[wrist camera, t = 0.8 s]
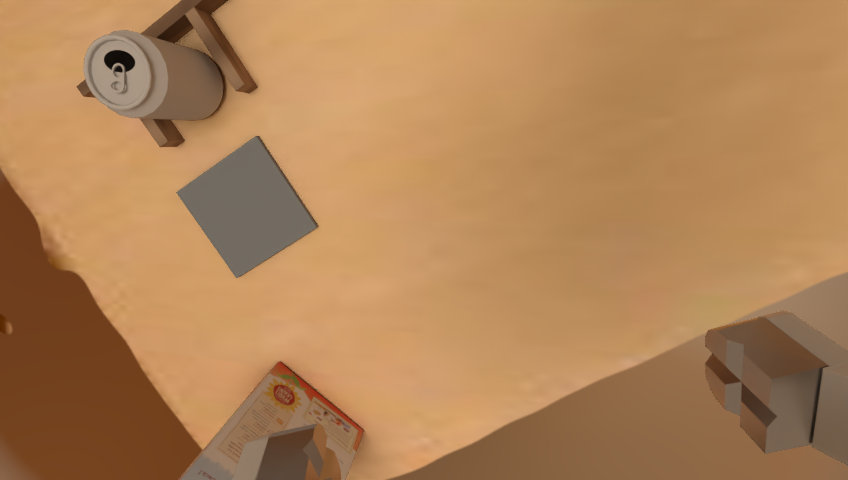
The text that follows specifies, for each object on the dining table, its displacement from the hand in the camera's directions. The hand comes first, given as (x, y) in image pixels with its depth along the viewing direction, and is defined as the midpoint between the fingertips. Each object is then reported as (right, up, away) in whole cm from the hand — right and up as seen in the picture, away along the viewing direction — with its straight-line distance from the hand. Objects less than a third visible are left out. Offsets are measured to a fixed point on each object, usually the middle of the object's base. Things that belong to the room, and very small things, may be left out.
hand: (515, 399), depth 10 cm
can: (-27, +20, +43) cm, 54 cm away
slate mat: (-22, +7, +45) cm, 51 cm away
